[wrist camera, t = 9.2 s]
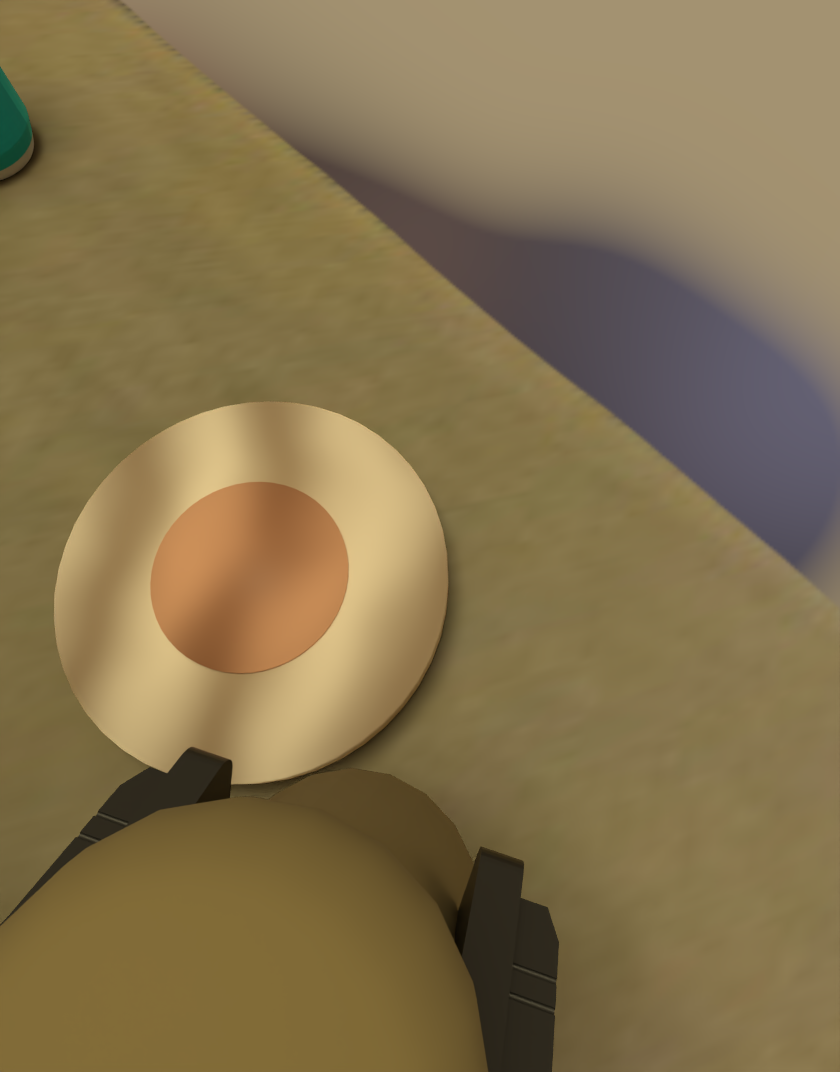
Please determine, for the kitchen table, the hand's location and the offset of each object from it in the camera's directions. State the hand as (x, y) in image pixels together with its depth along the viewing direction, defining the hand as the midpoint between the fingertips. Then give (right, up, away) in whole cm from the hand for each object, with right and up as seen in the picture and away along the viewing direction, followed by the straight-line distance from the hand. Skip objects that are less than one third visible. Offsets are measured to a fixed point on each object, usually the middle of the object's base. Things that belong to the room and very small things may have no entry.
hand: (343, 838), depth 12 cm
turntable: (-5, +3, +19) cm, 19 cm away
